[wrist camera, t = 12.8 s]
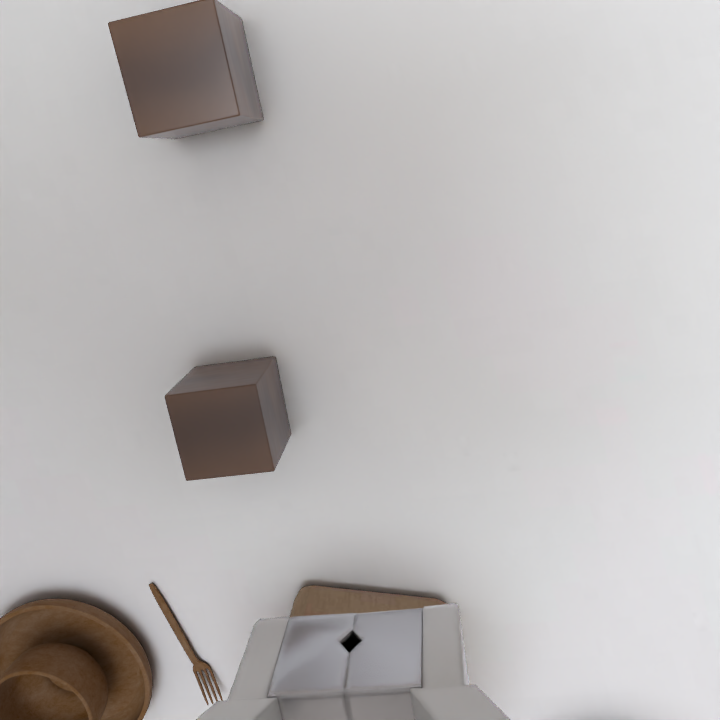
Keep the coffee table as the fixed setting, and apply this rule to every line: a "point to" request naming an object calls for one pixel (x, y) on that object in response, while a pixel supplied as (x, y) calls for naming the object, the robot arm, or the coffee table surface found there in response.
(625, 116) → the coffee table surface
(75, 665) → the place setting
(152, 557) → the coffee table surface
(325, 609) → the wooden block
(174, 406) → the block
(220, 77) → the middle block
